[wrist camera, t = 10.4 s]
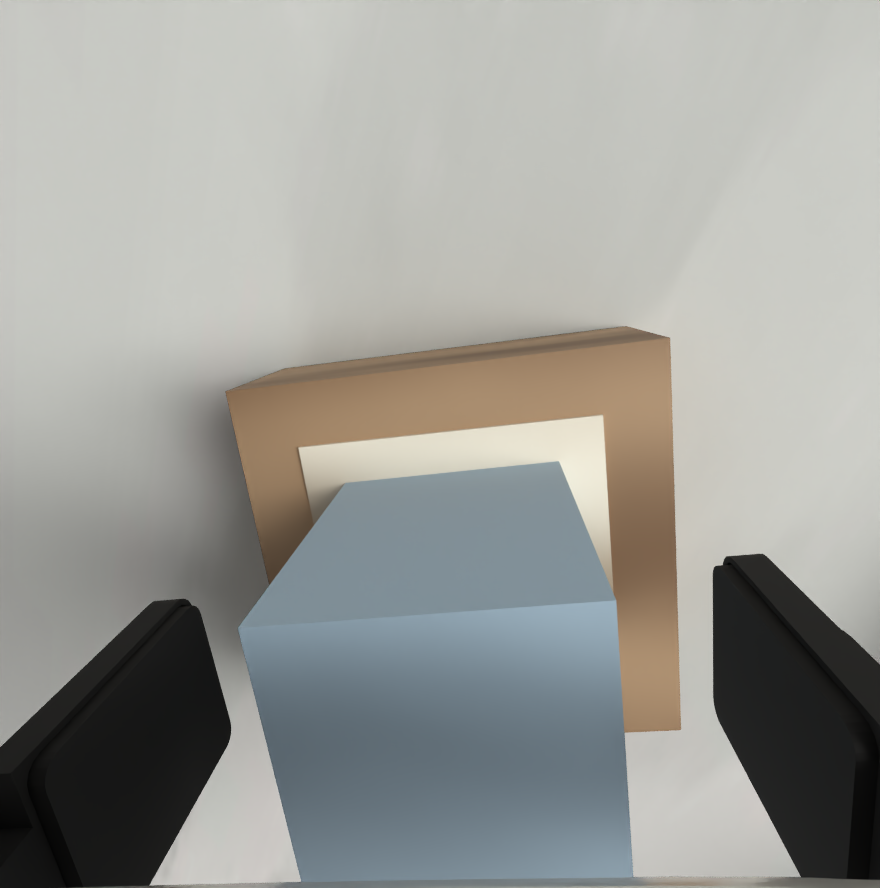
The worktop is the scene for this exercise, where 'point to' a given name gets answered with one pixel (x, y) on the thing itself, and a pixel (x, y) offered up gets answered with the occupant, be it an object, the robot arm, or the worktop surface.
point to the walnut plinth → (494, 459)
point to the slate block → (446, 684)
